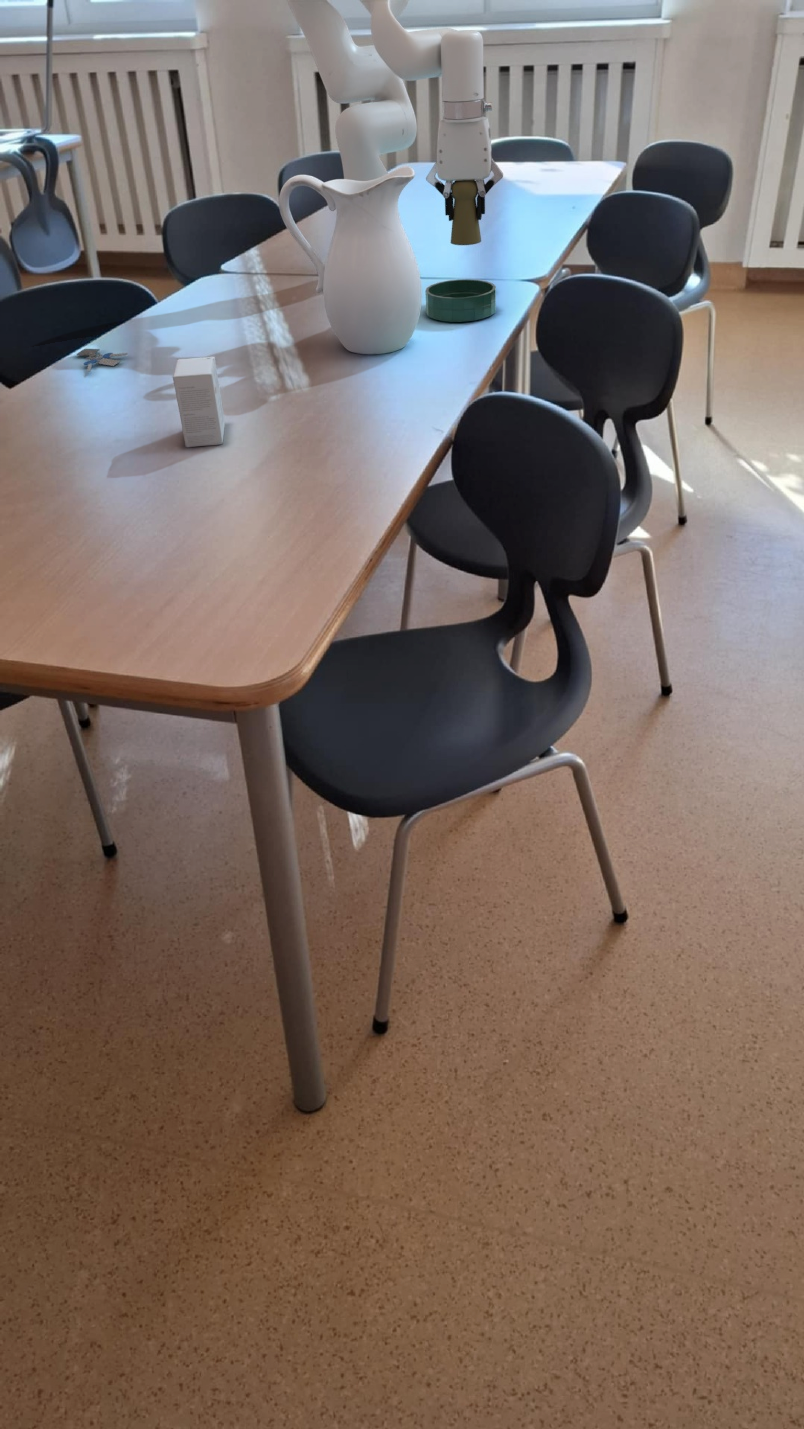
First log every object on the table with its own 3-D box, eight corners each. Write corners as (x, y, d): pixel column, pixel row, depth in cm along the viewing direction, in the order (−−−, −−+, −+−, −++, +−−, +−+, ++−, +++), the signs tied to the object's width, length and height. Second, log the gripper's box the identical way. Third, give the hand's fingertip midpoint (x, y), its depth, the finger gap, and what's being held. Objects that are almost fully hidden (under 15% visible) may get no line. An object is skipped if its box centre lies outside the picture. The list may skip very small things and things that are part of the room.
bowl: (423, 324, 198) (422, 299, 195) (430, 304, 208) (429, 280, 206) (493, 322, 196) (493, 297, 193) (497, 302, 206) (497, 278, 204)
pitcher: (436, 333, 193) (429, 162, 176) (405, 362, 180) (395, 182, 164) (315, 327, 200) (298, 162, 184) (277, 355, 187) (256, 181, 171)
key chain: (74, 353, 194) (73, 348, 194) (119, 345, 197) (118, 341, 196) (87, 374, 184) (86, 370, 183) (134, 366, 186) (134, 361, 186)
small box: (189, 428, 161) (176, 358, 155) (226, 425, 161) (215, 355, 155) (184, 448, 155) (171, 376, 148) (223, 445, 155) (211, 373, 149)
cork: (479, 245, 204) (478, 182, 198) (448, 245, 205) (446, 182, 199) (483, 237, 209) (482, 175, 202) (453, 238, 210) (451, 176, 204)
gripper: (510, 106, 196) (510, 213, 206) (419, 110, 198) (423, 216, 209) (508, 111, 190) (508, 221, 200) (414, 116, 192) (419, 224, 203)
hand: (465, 217), depth 205 cm, fingers closed on cork, 4 cm apart
